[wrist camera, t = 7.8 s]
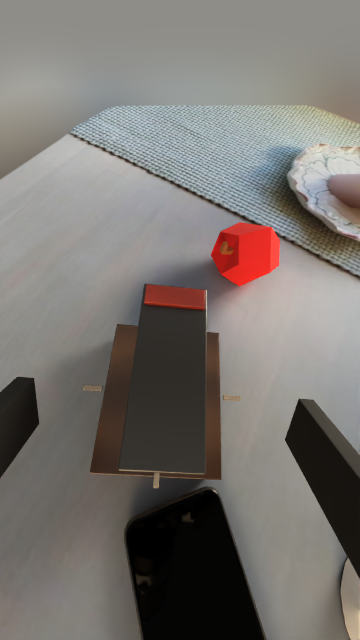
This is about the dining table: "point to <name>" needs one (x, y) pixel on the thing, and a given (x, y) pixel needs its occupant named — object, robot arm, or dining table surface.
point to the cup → (351, 600)
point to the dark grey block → (168, 384)
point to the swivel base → (116, 406)
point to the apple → (246, 252)
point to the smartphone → (189, 572)
